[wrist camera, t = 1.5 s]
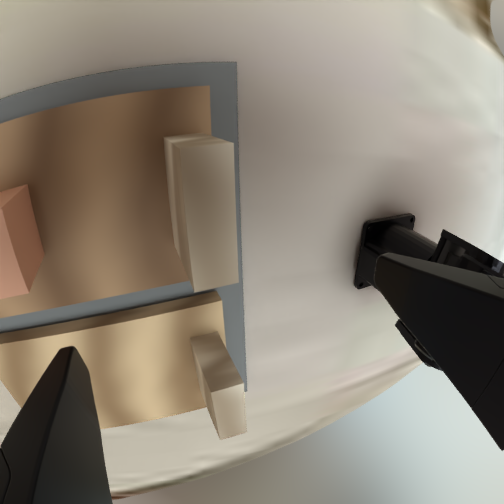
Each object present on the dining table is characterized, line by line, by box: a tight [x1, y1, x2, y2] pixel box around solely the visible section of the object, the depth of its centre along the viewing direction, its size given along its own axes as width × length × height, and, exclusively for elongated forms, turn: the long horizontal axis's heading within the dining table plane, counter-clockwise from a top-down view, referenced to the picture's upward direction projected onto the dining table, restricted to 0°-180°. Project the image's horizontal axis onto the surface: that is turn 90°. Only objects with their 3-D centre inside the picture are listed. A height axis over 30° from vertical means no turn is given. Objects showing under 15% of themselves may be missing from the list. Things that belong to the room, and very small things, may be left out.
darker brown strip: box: [0, 86, 239, 318], centre depth 12 cm, size 18×11×6 cm, turn 91°
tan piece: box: [0, 291, 247, 440], centre depth 18 cm, size 18×11×6 cm, turn 91°
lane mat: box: [0, 62, 247, 392], centre depth 19 cm, size 20×27×1 cm
